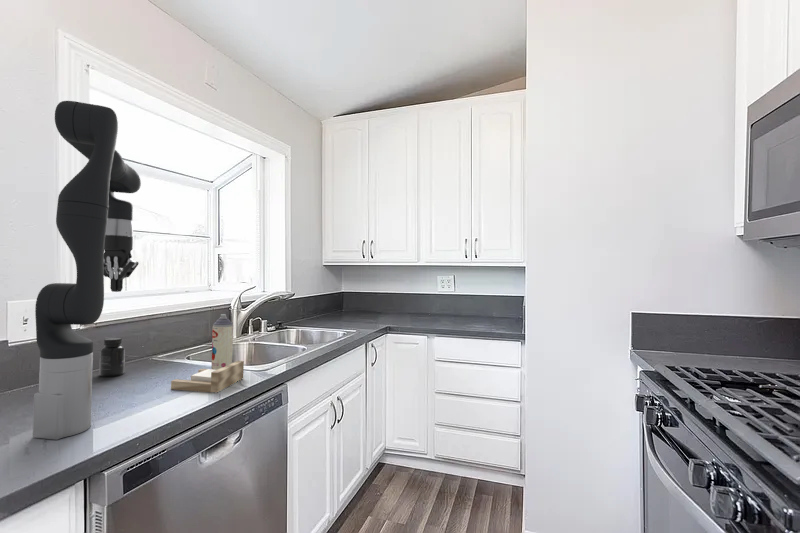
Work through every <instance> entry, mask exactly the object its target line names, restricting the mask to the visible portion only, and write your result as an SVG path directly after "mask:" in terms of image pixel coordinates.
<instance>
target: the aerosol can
mask: <svg viewBox="0 0 800 533" xmlns="http://www.w3.org/2000/svg"><path fill="white" fill-rule="evenodd" d="M211 334H212V339H211V340H212V341H211V369H215V370H218V369H220V368H223V367H225V366H227V365H229V364H232V363H233V346H234V343H233V342H234V323H233V322H232V321H231V320H230V319H229V318H228V317H227V314H226V313H225V314H224V313H223V314H222V313H221V314H220V317H219V318H218V319H216V321H215V322H213V323H212V333H211Z"/></svg>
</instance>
